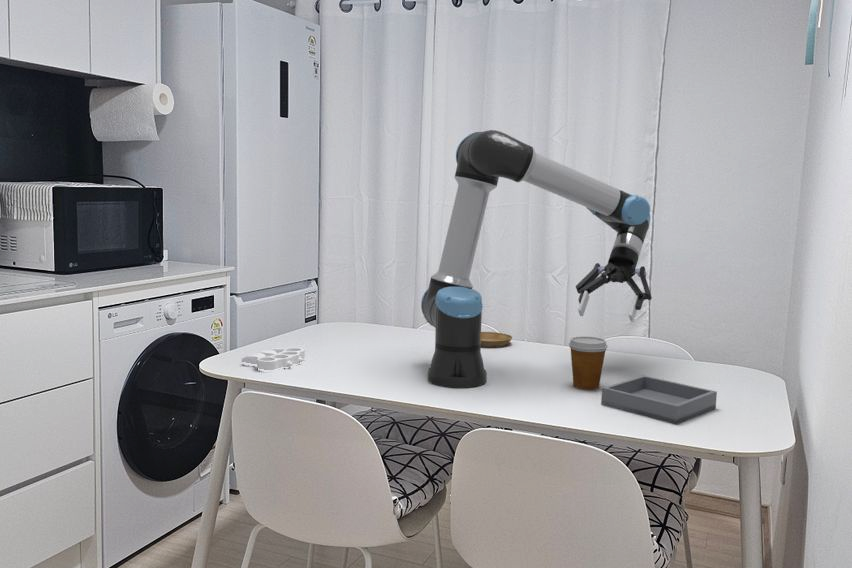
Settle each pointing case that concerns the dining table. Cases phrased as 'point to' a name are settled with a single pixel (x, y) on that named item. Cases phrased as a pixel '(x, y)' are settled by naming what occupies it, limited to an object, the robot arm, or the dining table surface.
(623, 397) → the grey tray
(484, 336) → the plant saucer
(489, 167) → the robot arm
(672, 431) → the dining table surface
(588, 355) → the disposable coffee cup
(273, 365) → the white holed plate
